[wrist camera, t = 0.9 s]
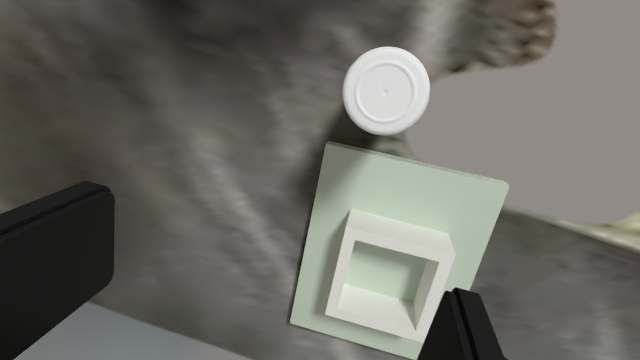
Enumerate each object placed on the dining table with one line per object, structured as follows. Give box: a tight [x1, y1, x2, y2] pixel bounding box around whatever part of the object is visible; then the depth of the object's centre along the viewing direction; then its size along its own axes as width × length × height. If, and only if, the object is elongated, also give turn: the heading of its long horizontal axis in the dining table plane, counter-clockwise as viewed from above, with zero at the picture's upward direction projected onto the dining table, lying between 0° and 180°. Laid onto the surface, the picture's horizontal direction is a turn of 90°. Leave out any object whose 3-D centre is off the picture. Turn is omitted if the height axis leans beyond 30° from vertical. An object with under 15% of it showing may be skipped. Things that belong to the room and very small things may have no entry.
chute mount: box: [290, 141, 509, 360], centre depth 33 cm, size 20×16×6 cm
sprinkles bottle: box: [342, 47, 430, 135], centre depth 25 cm, size 5×5×13 cm
